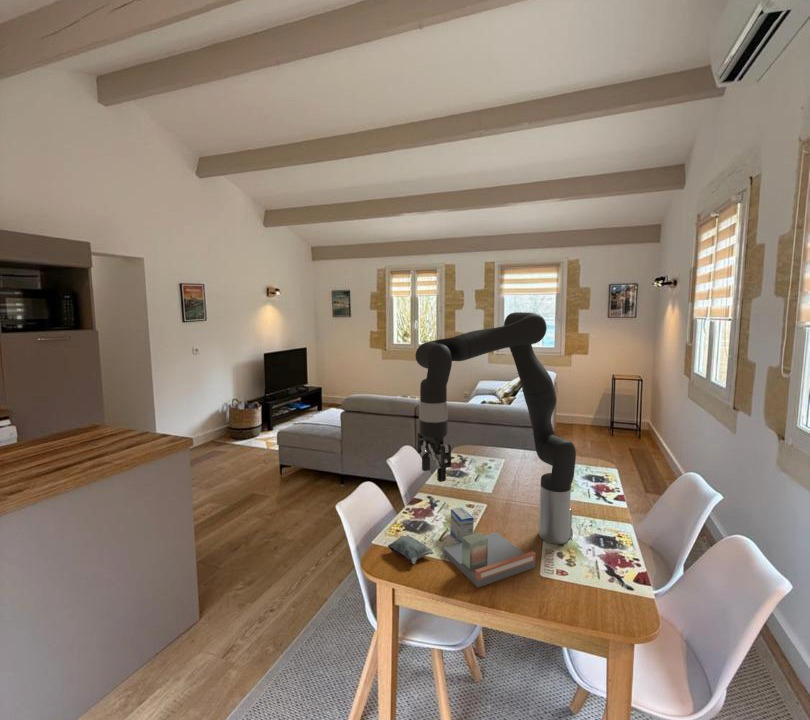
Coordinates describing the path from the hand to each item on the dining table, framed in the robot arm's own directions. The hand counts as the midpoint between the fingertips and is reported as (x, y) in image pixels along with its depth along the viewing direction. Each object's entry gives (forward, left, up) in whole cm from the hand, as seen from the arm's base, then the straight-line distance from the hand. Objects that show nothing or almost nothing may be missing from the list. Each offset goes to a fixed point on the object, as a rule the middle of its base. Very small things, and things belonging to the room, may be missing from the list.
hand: (433, 475), depth 119 cm
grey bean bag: (+1, -12, -30) cm, 32 cm away
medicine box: (-18, -13, -30) cm, 37 cm away
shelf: (-18, +1, -29) cm, 34 cm away
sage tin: (-11, +3, -27) cm, 30 cm away
